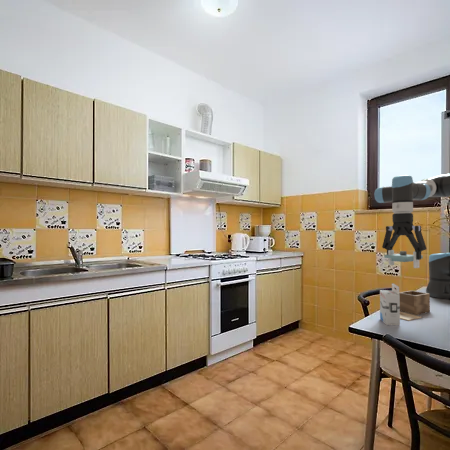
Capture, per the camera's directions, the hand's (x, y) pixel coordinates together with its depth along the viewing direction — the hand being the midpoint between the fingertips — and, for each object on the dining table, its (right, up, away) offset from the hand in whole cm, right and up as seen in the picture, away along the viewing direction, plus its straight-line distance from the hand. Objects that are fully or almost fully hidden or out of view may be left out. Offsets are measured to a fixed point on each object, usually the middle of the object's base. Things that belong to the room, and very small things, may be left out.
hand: (403, 266), depth 129 cm
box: (+9, -21, +8) cm, 24 cm away
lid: (0, +2, 0) cm, 2 cm away
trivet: (0, -21, 0) cm, 21 cm away
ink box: (-10, -21, -8) cm, 25 cm away
